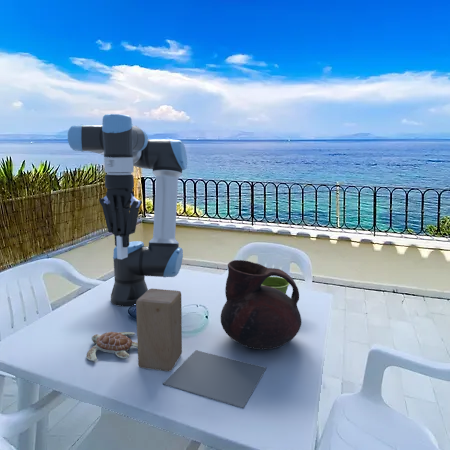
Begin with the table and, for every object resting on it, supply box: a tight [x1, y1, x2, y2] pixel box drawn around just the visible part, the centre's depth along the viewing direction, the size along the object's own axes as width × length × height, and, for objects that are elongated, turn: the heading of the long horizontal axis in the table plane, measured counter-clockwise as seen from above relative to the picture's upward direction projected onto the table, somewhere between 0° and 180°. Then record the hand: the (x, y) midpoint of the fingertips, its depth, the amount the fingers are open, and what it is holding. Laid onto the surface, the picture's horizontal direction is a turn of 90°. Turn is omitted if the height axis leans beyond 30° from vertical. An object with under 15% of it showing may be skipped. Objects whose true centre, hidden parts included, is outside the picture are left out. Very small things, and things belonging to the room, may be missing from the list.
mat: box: [162, 349, 267, 409], centre depth 98 cm, size 18×22×1 cm
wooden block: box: [135, 288, 183, 372], centre depth 103 cm, size 10×10×20 cm
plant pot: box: [261, 276, 290, 295], centre depth 140 cm, size 12×12×11 cm
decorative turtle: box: [85, 331, 138, 362], centre depth 112 cm, size 18×17×5 cm
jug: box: [220, 259, 302, 350], centre depth 115 cm, size 25×25×25 cm
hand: (122, 257), depth 104 cm, fingers closed
